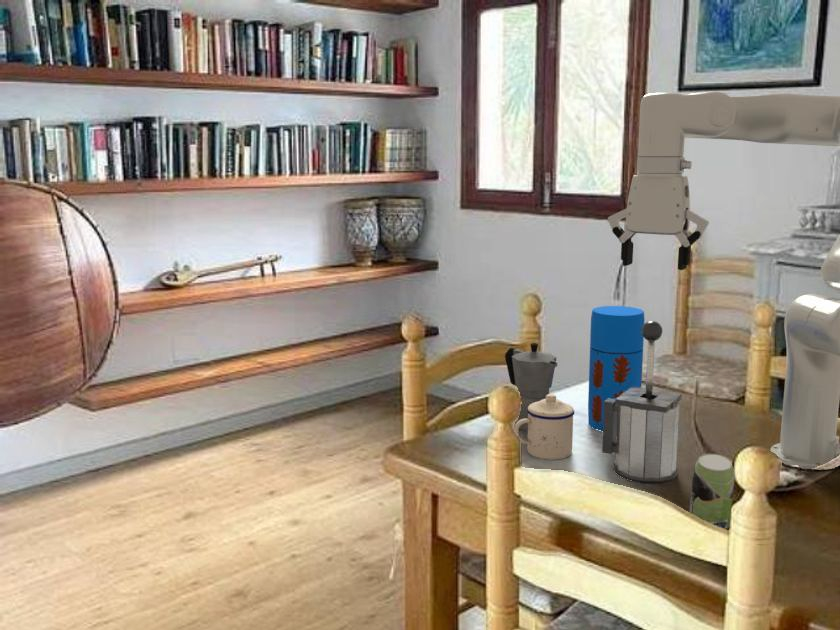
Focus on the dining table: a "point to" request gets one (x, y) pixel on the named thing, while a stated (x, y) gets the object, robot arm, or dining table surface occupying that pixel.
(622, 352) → the thermos
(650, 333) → the plunger
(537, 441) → the teacup with lid
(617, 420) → the press pot
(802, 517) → the dining table surface
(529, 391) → the coffeepot
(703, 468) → the beverage can
